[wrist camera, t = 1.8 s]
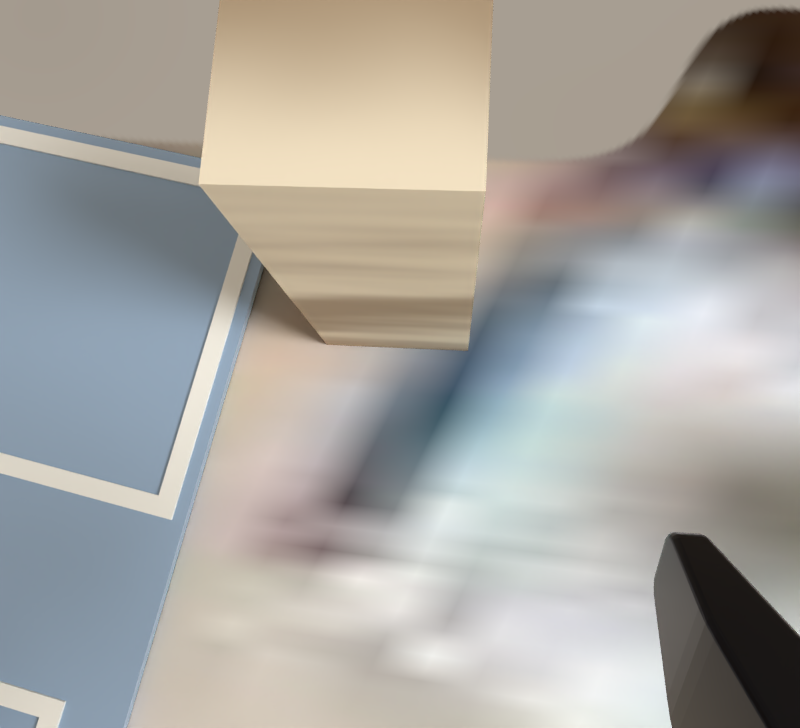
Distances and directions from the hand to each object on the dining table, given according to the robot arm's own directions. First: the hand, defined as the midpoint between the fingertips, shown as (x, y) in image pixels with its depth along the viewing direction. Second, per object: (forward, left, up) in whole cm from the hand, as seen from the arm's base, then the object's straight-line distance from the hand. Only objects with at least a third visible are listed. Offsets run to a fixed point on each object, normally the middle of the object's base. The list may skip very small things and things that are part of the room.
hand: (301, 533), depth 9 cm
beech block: (+7, +2, -13) cm, 15 cm away
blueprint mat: (-3, +12, -13) cm, 18 cm away
